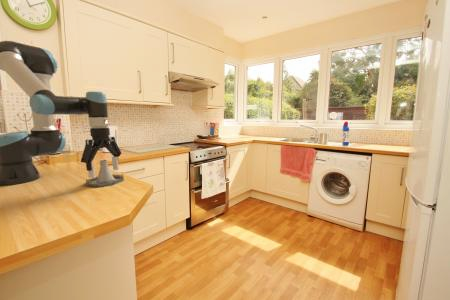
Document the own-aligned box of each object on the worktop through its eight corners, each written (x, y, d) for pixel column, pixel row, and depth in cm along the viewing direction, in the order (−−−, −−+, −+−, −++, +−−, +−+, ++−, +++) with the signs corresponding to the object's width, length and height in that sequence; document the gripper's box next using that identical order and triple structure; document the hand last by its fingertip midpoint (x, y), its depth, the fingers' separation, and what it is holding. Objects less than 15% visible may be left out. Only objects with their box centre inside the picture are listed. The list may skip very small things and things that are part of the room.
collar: (78, 185, 93) (77, 180, 93) (105, 176, 108) (105, 171, 107) (105, 187, 89) (105, 182, 89) (130, 177, 104) (130, 173, 103)
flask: (117, 179, 101) (115, 159, 100) (106, 184, 94) (104, 162, 93) (104, 179, 103) (102, 158, 101) (92, 183, 96) (90, 162, 94)
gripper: (80, 129, 82) (87, 181, 85) (126, 126, 105) (130, 167, 109) (65, 129, 84) (73, 180, 87) (114, 126, 107) (118, 166, 111)
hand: (104, 173), depth 98 cm, fingers open, 13 cm apart
